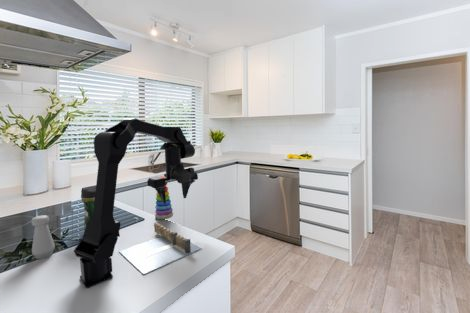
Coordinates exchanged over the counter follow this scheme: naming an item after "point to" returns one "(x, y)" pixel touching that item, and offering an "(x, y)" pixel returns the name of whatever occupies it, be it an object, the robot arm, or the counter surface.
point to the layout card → (155, 254)
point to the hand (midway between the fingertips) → (174, 200)
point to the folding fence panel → (163, 231)
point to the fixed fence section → (181, 242)
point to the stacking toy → (163, 206)
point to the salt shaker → (42, 238)
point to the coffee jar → (88, 202)
